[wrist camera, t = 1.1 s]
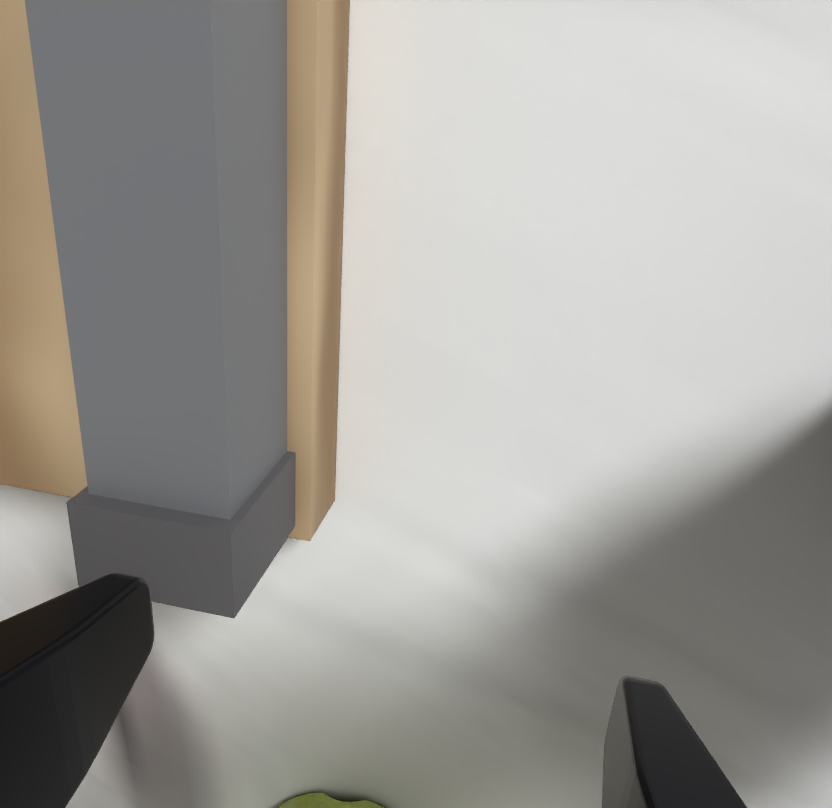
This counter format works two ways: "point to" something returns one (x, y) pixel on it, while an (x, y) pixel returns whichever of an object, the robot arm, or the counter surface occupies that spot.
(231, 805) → the counter surface
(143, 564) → the folding leg
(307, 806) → the plant pot
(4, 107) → the tan wooden slab
